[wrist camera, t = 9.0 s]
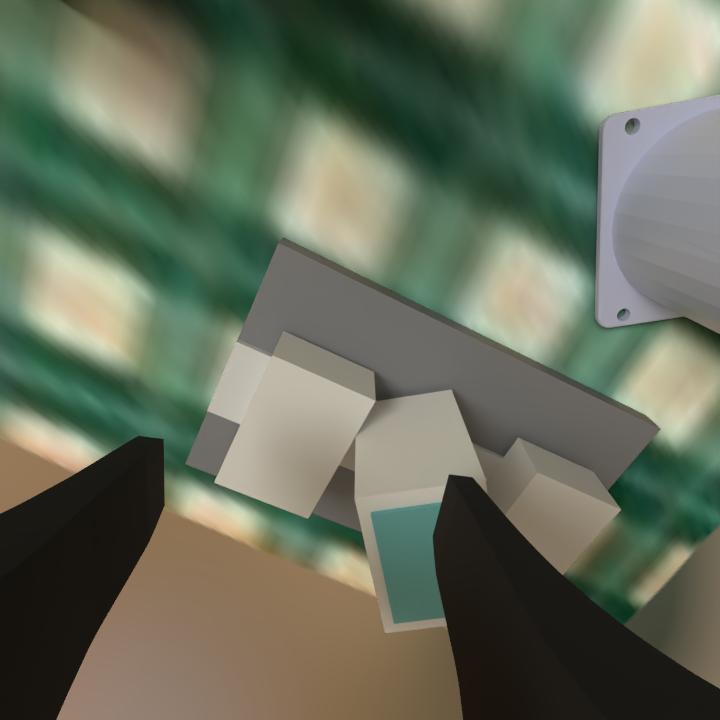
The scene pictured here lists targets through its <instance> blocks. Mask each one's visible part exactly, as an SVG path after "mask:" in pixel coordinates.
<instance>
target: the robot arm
mask: <svg viewBox="0 0 720 720" xmlns="http://www.w3.org/2000/svg"><path fill="white" fill-rule="evenodd" d="M630 119H632V120H633V121H634V125H635V126H634V130H633V131H632V132H631V133H630V134H628V133H626V131H625V125H626V123H627V122H628V120H630ZM622 309H625V314H624V315H623V316H622V317H620V318H617V314H618V312H619V311H620V310H622ZM684 316H685V317H687V318H689V319H691V320H693V321H695V322H697V323H699V324H701V325H703V326H705V327H707V328H709V329H711V330H713V331H715V332H717V333H719V334H720V95H714V96H709V97H704V98H698V99H693V100H687V101H682V102H676V103H671V104H666V105H660V106H655V107H649V108H644V109H638V110H633V111H628V112H622V113H617V114H613V115H610V116H608V117H607V118H606V119H605V120H603V122H602V124H601V126H600V130H599V155H598V198H597V242H596V286H595V320H596V321H597V323H598V324H599V325H601V326H603V327H605V328H613V327H619V326H626V325H632V324H639V323H645V322H652V321H658V320H665V319H671V318H678V317H684ZM164 505H165V504H164V443H163V439H158V438H150V437H142V436H138V437H136V438H134V439H132V440H131V441H129V442H127V443H126V444H124V445H122V446H121V447H119V448H117V449H116V450H114V451H112V452H111V453H109V454H108V455H106V456H104V457H103V458H101V459H99V460H98V461H96V462H94V463H93V464H91V465H89V466H88V467H86V468H84V469H83V470H81V471H79V472H78V473H76V474H74V475H73V476H71V477H69V478H68V479H66V480H64V481H62V482H60V483H58V484H57V485H55V486H53V487H51V488H49V489H47V490H46V491H44V492H42V493H40V494H38V495H37V496H35V497H33V498H31V499H29V500H27V501H25V502H23V503H22V504H20V505H17V506H15V507H14V508H11V509H9V510H7V511H5V512H3V513H1V514H0V720H56V719H57V716H58V714H59V712H60V710H61V707H62V705H63V703H64V700H65V698H66V696H67V694H68V692H69V689H70V687H71V685H72V683H73V681H74V679H75V677H76V674H77V672H78V670H79V668H80V666H81V664H82V661H83V659H84V657H85V655H86V653H87V651H88V648H89V647H90V645H91V643H92V641H93V639H94V637H95V635H96V633H97V632H98V630H99V628H100V626H101V624H102V623H103V621H104V619H105V617H106V616H107V614H108V612H109V611H110V609H111V607H112V605H113V604H114V602H115V600H116V598H117V597H118V595H119V593H120V592H121V590H122V588H123V586H124V585H125V583H126V581H127V580H128V578H129V576H130V575H131V573H132V571H133V569H134V568H135V566H136V564H137V562H138V561H139V559H140V557H141V556H142V554H143V552H144V550H145V548H146V547H147V545H148V543H149V541H150V538H151V536H152V534H153V532H154V530H155V527H156V525H157V522H158V520H159V518H160V515H161V513H162V510H163V508H164ZM433 548H434V560H435V570H436V577H437V582H438V587H439V591H440V596H441V601H442V605H443V610H444V614H445V619H446V624H447V628H448V632H449V637H450V642H451V646H452V650H453V655H454V660H455V665H456V670H457V676H458V681H459V688H460V696H461V704H462V713H463V720H720V689H719V688H717V687H716V686H714V685H712V684H711V683H709V682H707V681H705V680H704V679H702V678H700V677H699V676H697V675H695V674H693V673H692V672H691V671H689V670H687V669H686V668H684V667H683V666H681V665H680V664H678V663H676V662H675V661H674V660H672V659H671V658H669V657H668V656H666V655H665V654H663V653H662V652H660V651H659V650H657V649H656V648H654V647H653V646H651V645H650V644H648V643H647V642H646V641H644V640H643V639H641V638H640V637H639V636H637V635H636V634H634V633H633V632H632V631H630V630H629V629H628V628H626V627H625V626H624V625H622V624H621V623H620V622H618V621H617V620H616V619H615V618H613V617H612V616H611V615H609V614H608V613H607V612H605V611H604V610H603V609H602V608H600V607H599V606H598V605H597V604H595V603H594V602H593V601H592V600H590V599H589V598H588V597H587V596H586V595H585V594H584V593H582V592H581V591H580V590H579V589H578V588H577V587H576V586H574V585H573V584H572V583H571V582H570V581H569V580H568V579H566V578H565V577H564V576H563V575H562V574H561V573H560V572H559V571H558V570H557V569H556V568H555V567H554V566H552V565H551V564H550V563H549V562H548V561H547V560H546V559H545V558H544V557H543V556H542V555H541V554H540V553H539V552H538V551H537V550H536V548H535V547H534V546H533V545H532V544H531V543H530V542H529V541H528V540H527V539H526V538H525V537H524V536H523V535H522V534H521V533H520V531H519V530H518V529H517V528H516V527H515V526H514V525H513V524H512V523H511V521H510V520H509V519H508V518H507V517H506V516H505V515H504V513H503V512H502V511H501V510H500V509H499V508H498V506H497V505H496V504H495V503H494V502H493V500H492V499H491V498H490V497H489V496H488V495H487V493H486V492H485V491H484V490H483V489H482V487H481V486H480V485H479V484H478V483H477V482H476V481H475V479H474V478H473V477H467V476H459V475H451V474H449V476H448V480H447V484H446V487H445V491H444V495H443V499H442V502H441V506H440V510H439V514H438V517H437V521H436V525H435V529H434V532H433Z"/></svg>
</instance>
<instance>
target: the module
mask: <svg viewBox="0 0 720 720" xmlns="http://www.w3.org/2000/svg"><path fill="white" fill-rule="evenodd" d="M449 474H451V475H459V476H467V477H473V478H474V479H475V481H476V482H477V483H478V484H479V485H480V486H481V487H482V489H483V490H484V491H485V492H486V493H487V484H486V478H485V476H484V473H483V470H482V468H481V465H480V463H479V460H478V457H477V455H476V452H475V450H474V447H473V444H472V442H471V439H470V436H469V434H468V431H467V429H466V426H465V423H464V421H463V418H462V416H461V413H460V410H459V408H458V405H457V403H456V400H455V397H454V395H453V392H452V389H451V390H445V391H438V392H432V393H425V394H419V395H413V396H406V397H400V398H393V399H387V400H381V401H375V403H374V405H373V407H372V408H371V410H370V412H369V414H368V415H367V417H366V419H365V421H364V422H363V424H362V426H361V428H360V429H359V431H358V433H357V434H356V447H355V495H354V499H355V503H356V508H357V512H358V516H359V521H360V525H361V530H362V534H363V538H364V543H365V547H366V552H367V556H368V560H369V565H370V569H371V574H372V578H373V582H374V587H375V591H376V596H377V600H378V605H379V609H380V613H381V618H382V622H383V626H384V631H385V633H390V632H399V631H407V630H415V629H424V628H432V627H441V626H447V624H446V619H445V614H444V610H443V605H442V601H441V596H440V591H439V587H438V582H437V577H436V570H435V560H434V548H433V532H434V529H435V525H436V521H437V517H438V514H439V510H440V506H441V502H442V499H443V495H444V491H445V487H446V484H447V480H448V476H449Z"/></svg>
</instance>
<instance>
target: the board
mask: <svg viewBox="0 0 720 720" xmlns="http://www.w3.org/2000/svg"><path fill="white" fill-rule="evenodd" d="M451 389H452V392H453V395H454V397H455V400H456V403H457V405H458V408H459V410H460V413H461V416H462V418H463V421H464V423H465V426H466V429H467V431H468V434H469V436H470V439H471V442H472V444H473V447H474V450H475V452H476V455H477V457H478V460H479V463H480V465H481V468H482V470H483V473H484V476H485V478H486V484H487V495H488V496H489V497H490V498H491V499H492V500H493V502H494V503H495V504H496V505H497V506H498V508H499V509H500V510H501V511H502V512H503V513H504V515H505V516H506V517H507V518H508V519H509V520H510V521H511V523H512V524H513V525H514V526H515V527H516V528H517V529H518V530H519V531H520V533H521V534H522V535H523V536H524V537H525V538H526V539H527V540H528V541H529V542H530V543H531V544H532V545H533V546H534V547H535V548H536V550H537V551H538V552H539V553H540V554H541V555H542V556H543V557H544V558H545V559H546V560H547V561H548V562H549V563H550V564H551V565H552V566H554V567H555V568H556V569H557V570H558V571H559V572H560V573H561V574H562V575H563V574H564V573H565V572H566V571H567V570H568V569H569V568H570V566H571V565H572V564H573V563H574V562H575V561H576V560H577V559H578V558H579V556H580V555H581V554H582V553H583V552H584V551H585V550H586V549H587V547H588V546H589V545H590V544H591V543H592V542H593V541H594V540H595V538H596V537H597V536H598V535H599V534H600V533H601V532H602V531H603V529H604V528H605V527H606V526H607V525H608V524H609V523H610V522H611V521H612V519H613V518H614V517H615V516H616V515H617V514H618V513H619V512H620V510H621V509H620V507H619V506H618V505H617V503H616V502H615V500H614V499H613V498H612V496H611V495H610V494H609V492H608V490H609V489H610V487H611V486H612V485H613V484H614V483H615V482H616V480H617V479H618V478H619V477H620V476H621V475H622V473H623V472H624V471H625V470H626V469H627V468H628V466H629V465H630V464H631V463H632V462H633V461H634V459H635V458H636V457H637V456H638V455H639V454H640V453H641V451H642V450H643V449H644V448H645V447H646V446H647V444H648V443H649V442H650V441H651V440H652V439H653V437H654V436H655V435H656V434H657V433H658V432H659V430H660V428H659V427H658V426H657V425H656V424H655V423H653V422H652V421H651V420H650V419H649V418H648V417H647V416H646V415H644V414H642V413H640V412H638V411H636V410H634V409H632V408H630V407H628V406H626V405H624V404H622V403H619V402H617V401H615V400H613V399H611V398H609V397H607V396H605V395H603V394H601V393H599V392H597V391H595V390H593V389H591V388H589V387H587V386H585V385H583V384H581V383H579V382H577V381H575V380H573V379H571V378H568V377H566V376H564V375H562V374H560V373H558V372H556V371H554V370H552V369H550V368H548V367H546V366H544V365H542V364H540V363H538V362H536V361H534V360H532V359H530V358H528V357H526V356H524V355H522V354H520V353H517V352H515V351H513V350H511V349H509V348H507V347H505V346H503V345H501V344H499V343H497V342H495V341H493V340H491V339H489V338H487V337H485V336H483V335H481V334H479V333H477V332H475V331H473V330H471V329H469V328H466V327H464V326H462V325H460V324H458V323H456V322H454V321H452V320H450V319H448V318H446V317H444V316H442V315H440V314H438V313H436V312H434V311H432V310H430V309H428V308H426V307H424V306H422V305H420V304H418V303H415V302H413V301H411V300H409V299H407V298H405V297H403V296H401V295H399V294H397V293H395V292H393V291H391V290H389V289H387V288H385V287H383V286H381V285H379V284H377V283H375V282H373V281H371V280H369V279H367V278H364V277H362V276H360V275H358V274H356V273H354V272H352V271H350V270H348V269H346V268H344V267H342V266H340V265H338V264H336V263H334V262H332V261H330V260H328V259H326V258H324V257H322V256H320V255H318V254H315V253H313V252H311V251H309V250H307V249H305V248H303V247H301V246H299V245H297V244H295V243H293V242H291V241H289V240H287V239H285V238H283V239H282V240H281V241H280V242H279V243H278V246H277V248H276V250H275V253H274V255H273V257H272V260H271V262H270V265H269V267H268V269H267V272H266V274H265V276H264V279H263V281H262V283H261V286H260V288H259V291H258V293H257V295H256V298H255V300H254V302H253V305H252V307H251V310H250V312H249V314H248V317H247V319H246V321H245V324H244V326H243V329H242V331H241V333H240V336H239V338H238V340H237V341H236V344H235V346H234V348H233V351H232V353H231V355H230V358H229V360H228V363H227V365H226V367H225V370H224V372H223V374H222V377H221V379H220V382H219V384H218V386H217V389H216V391H215V393H214V396H213V398H212V401H211V403H210V405H209V408H208V410H207V411H208V412H207V414H206V416H205V419H204V421H203V423H202V426H201V428H200V430H199V433H198V435H197V438H196V440H195V442H194V445H193V447H192V449H191V452H190V454H189V457H188V459H187V461H186V465H189V466H192V467H194V468H197V469H199V470H202V471H204V472H207V473H210V474H212V475H215V476H217V477H216V480H215V482H214V483H216V484H219V485H222V486H224V487H227V488H229V489H232V490H235V491H237V492H240V493H242V494H245V495H248V496H250V497H253V498H255V499H258V500H261V501H263V502H266V503H268V504H271V505H274V506H276V507H279V508H281V509H284V510H287V511H289V512H292V513H294V514H297V515H300V516H302V517H305V518H307V519H308V518H309V516H310V515H311V513H313V514H315V515H318V516H321V517H323V518H326V519H328V520H331V521H334V522H336V523H339V524H341V525H344V526H346V527H349V528H352V529H354V530H357V531H359V532H362V530H361V525H360V521H359V516H358V512H357V508H356V503H355V499H354V495H355V447H356V434H357V433H358V431H359V429H360V428H361V426H362V424H363V422H364V421H365V419H366V417H367V415H368V414H369V412H370V410H371V408H372V407H373V405H374V403H375V401H381V400H387V399H393V398H400V397H406V396H413V395H419V394H425V393H432V392H438V391H445V390H451Z"/></svg>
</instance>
